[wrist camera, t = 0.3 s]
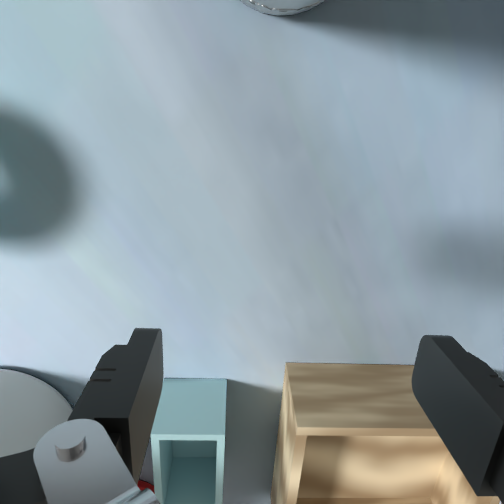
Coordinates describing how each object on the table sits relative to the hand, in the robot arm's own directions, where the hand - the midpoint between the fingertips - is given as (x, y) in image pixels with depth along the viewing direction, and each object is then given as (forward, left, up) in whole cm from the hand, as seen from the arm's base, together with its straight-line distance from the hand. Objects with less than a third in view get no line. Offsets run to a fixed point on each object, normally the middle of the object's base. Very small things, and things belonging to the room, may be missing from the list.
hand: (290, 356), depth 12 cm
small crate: (+22, -5, -18) cm, 28 cm away
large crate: (+24, +12, -18) cm, 32 cm away
